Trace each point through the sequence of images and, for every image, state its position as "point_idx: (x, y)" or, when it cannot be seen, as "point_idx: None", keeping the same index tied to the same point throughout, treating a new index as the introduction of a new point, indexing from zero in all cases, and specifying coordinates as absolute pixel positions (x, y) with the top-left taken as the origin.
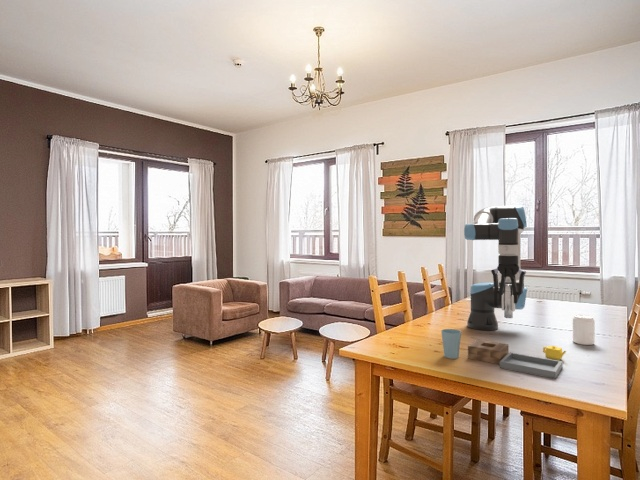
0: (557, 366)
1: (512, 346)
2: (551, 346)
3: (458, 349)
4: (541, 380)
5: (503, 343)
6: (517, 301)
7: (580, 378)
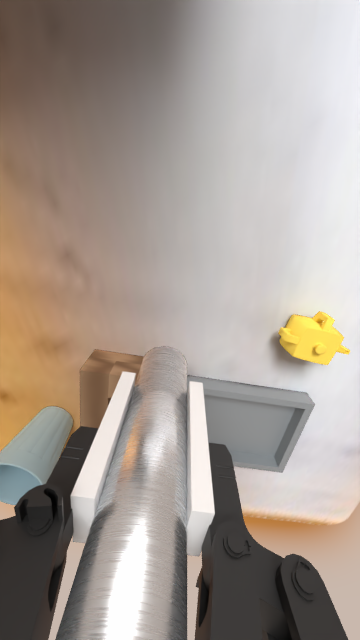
0: (293, 443)
1: (180, 241)
2: (314, 331)
3: (64, 442)
4: (249, 473)
5: None
6: (229, 467)
7: (327, 439)
